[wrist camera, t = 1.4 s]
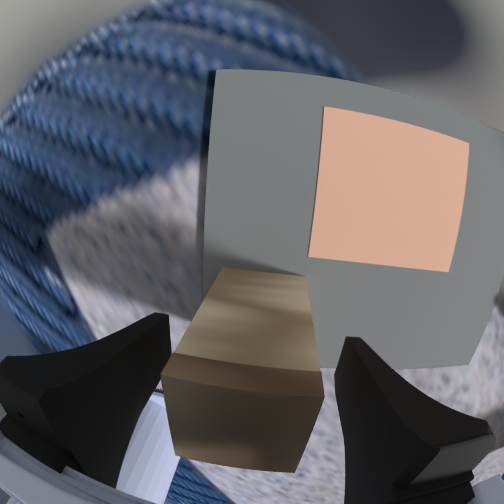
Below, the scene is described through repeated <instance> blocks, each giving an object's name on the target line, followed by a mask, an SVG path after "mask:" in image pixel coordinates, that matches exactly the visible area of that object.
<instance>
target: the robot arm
mask: <svg viewBox="0 0 504 504" xmlns="http://www.w3.org/2000/svg"><path fill="white" fill-rule="evenodd" d="M171 354H172V351H171V339H170V325H169V315H167V314H162V313H156V312H155V313H153V314H151V315H148V316H146V317H145V318H143V319H141V320H139V321H137V322H135V323H133V324H131V325H129V326H127V327H125V328H123V329H121V330H119V331H117V332H115V333H113V334H111V335H109V336H106V337H104V338H102V339H100V340H97V341H95V342H92V343H89V344H86V345H83V346H80V347H77V348H73V349H69V350H64V351H60V352H56V353H49V354H42V355H32V356H7V357H6V358H5V359H3V361H1V362H0V403H1V404H2V406H3V408H4V410H5V412H6V413H7V415H6V416H5V417H4V418H2V417H1V415H0V488H1V489H2V490H4V491H5V492H6V493H7V494H8V495H10V496H11V498H10V499H9V501H8V502H7V504H164V501H165V498H166V495H167V493H168V490H169V487H170V484H171V481H172V478H173V476H174V473H175V470H176V467H177V464H178V461H179V459H180V457H179V456H175V453H174V448H173V443H172V439H171V434H170V429H169V424H168V418H167V413H166V407H165V401H164V395H163V394H162V393H158V392H154V390H155V388H156V387H157V385H158V383H159V381H160V380H161V373H162V371H163V369H164V367H165V366H166V364H167V362H168V360H169V358H170V357H171ZM334 378H335V395H336V400H337V405H338V411H339V416H340V421H341V426H342V431H343V437H344V445H345V499H344V504H504V483H503V480H502V478H501V475H500V474H498V475H496V476H494V477H491V478H489V479H487V480H485V481H482V482H480V483H478V484H476V485H475V486H473V487H472V486H471V483H470V481H472V480H473V479H474V475H473V472H472V470H473V469H474V468H475V467H476V466H477V465H478V464H479V463H480V462H481V461H482V460H483V459H484V457H485V456H486V455H487V454H488V453H489V452H490V450H491V449H492V447H493V445H494V443H495V436H494V434H493V432H492V430H491V428H490V426H489V425H488V423H487V421H485V420H482V419H478V418H475V417H472V416H469V415H466V414H463V413H461V412H458V411H456V410H454V409H451V408H449V407H447V406H445V405H443V404H441V403H439V402H438V401H436V400H434V399H432V398H430V397H429V396H427V395H426V394H424V393H422V392H421V391H420V390H418V389H417V388H415V387H414V386H413V385H411V384H410V383H409V382H407V381H406V380H405V379H404V378H402V377H401V376H400V375H399V374H398V373H397V372H395V371H394V370H393V369H392V368H391V367H390V366H389V365H388V364H387V363H386V362H385V361H384V360H383V359H382V358H381V357H380V356H379V355H378V354H377V353H376V352H375V351H374V350H373V349H372V348H371V347H370V346H369V345H368V344H367V343H366V342H365V341H364V340H363V339H362V338H361V337H350V336H346V338H345V341H344V344H343V348H342V351H341V355H340V358H339V361H338V364H337V368H336V371H335V374H334Z"/></svg>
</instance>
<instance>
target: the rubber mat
mask: <svg viewBox="0 0 504 504" xmlns="http://www.w3.org/2000/svg"><path fill="white" fill-rule="evenodd" d="M222 267H227V268H235V269H244V270H253V271H261V272H270V273H279V274H289V275H298V276H305V278H306V284H307V290H308V295H309V301H310V307H311V313H312V319H313V326H314V332H315V338H316V345H317V352H318V359H319V366H320V368H337V364H338V361H339V358H340V355H341V351H342V348H343V344H344V341H345V338H346V336H350V337H361V338H362V339H363V340H364V341H365V342H366V343H367V344H368V345H369V346H370V347H371V348H372V349H373V350H374V351H375V352H376V353H377V354H378V355H379V356H380V357H381V358H382V359H383V360H384V361H385V362H386V363H387V364H388V365H389V366H390V367H391V368H392V369H416V368H435V367H449V366H460V365H469V363H470V361H471V359H472V357H473V355H474V353H475V350H476V348H477V346H478V344H479V342H480V340H481V337H482V335H483V333H484V330H485V328H486V325H487V323H488V320H489V318H490V315H491V313H492V310H493V307H494V305H495V302H496V299H497V296H498V293H499V290H500V287H501V284H502V280H503V277H504V132H502V131H499V130H498V129H496V128H494V127H491V126H489V125H487V124H485V123H483V122H481V121H478V120H476V119H474V118H471V117H469V116H467V115H464V114H462V113H459V112H457V111H454V110H451V109H449V108H446V107H443V106H441V105H437V104H435V103H432V102H429V101H426V100H423V99H419V98H416V97H413V96H410V95H406V94H403V93H399V92H396V91H392V90H388V89H384V88H380V87H376V86H371V85H367V84H362V83H357V82H352V81H347V80H342V79H336V78H330V77H323V76H316V75H309V74H300V73H291V72H279V71H265V70H240V69H216V77H215V87H214V96H213V106H212V116H211V128H210V140H209V152H208V166H207V181H206V198H205V218H204V243H203V279H202V302H203V300H204V299H205V297H206V295H207V293H208V292H209V290H210V288H211V286H212V285H213V283H214V281H215V279H216V278H217V276H218V274H219V273H220V271H221V269H222Z"/></svg>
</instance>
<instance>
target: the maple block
mask: <svg viewBox="0 0 504 504" xmlns="http://www.w3.org/2000/svg"><path fill="white" fill-rule="evenodd" d="M161 382H162V389H163V395H164V401H165V407H166V413H167V418H168V424H169V429H170V434H171V439H172V443H173V448H174V453H175V456H179V457H183V458H187V459H192V460H196V461H201V462H206V463H211V464H217V465H223V466H229V467H236V468H243V469H251V470H261V471H273V472H289V473H295V471H296V469H297V466H298V464H299V462H300V459H301V457H302V455H303V452H304V450H305V448H306V445H307V443H308V440H309V438H310V435H311V433H312V430H313V427H314V425H315V422H316V420H317V417H318V414H319V411H320V409H321V406H322V403H323V400H324V397H325V396H324V388H323V381H322V373H321V371H320V366H319V359H318V352H317V345H316V338H315V332H314V326H313V319H312V313H311V307H310V301H309V295H308V290H307V284H306V278H305V276H298V275H289V274H279V273H270V272H261V271H253V270H244V269H235V268H227V267H222V269H221V271H220V273H219V274H218V276H217V278H216V279H215V281H214V283H213V285H212V286H211V288H210V290H209V292H208V293H207V295H206V297H205V299H204V300H203V302H202V304H201V306H200V307H199V309H198V311H197V313H196V314H195V316H194V318H193V320H192V321H191V323H190V325H189V327H188V328H187V330H186V332H185V334H184V336H183V337H182V339H181V341H180V343H179V344H178V346H177V348H176V350H175V352H173V353H172V355H171V357H170V358H169V360H168V362H167V364H166V366H165V367H164V369H163V371H162V373H161Z"/></svg>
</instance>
